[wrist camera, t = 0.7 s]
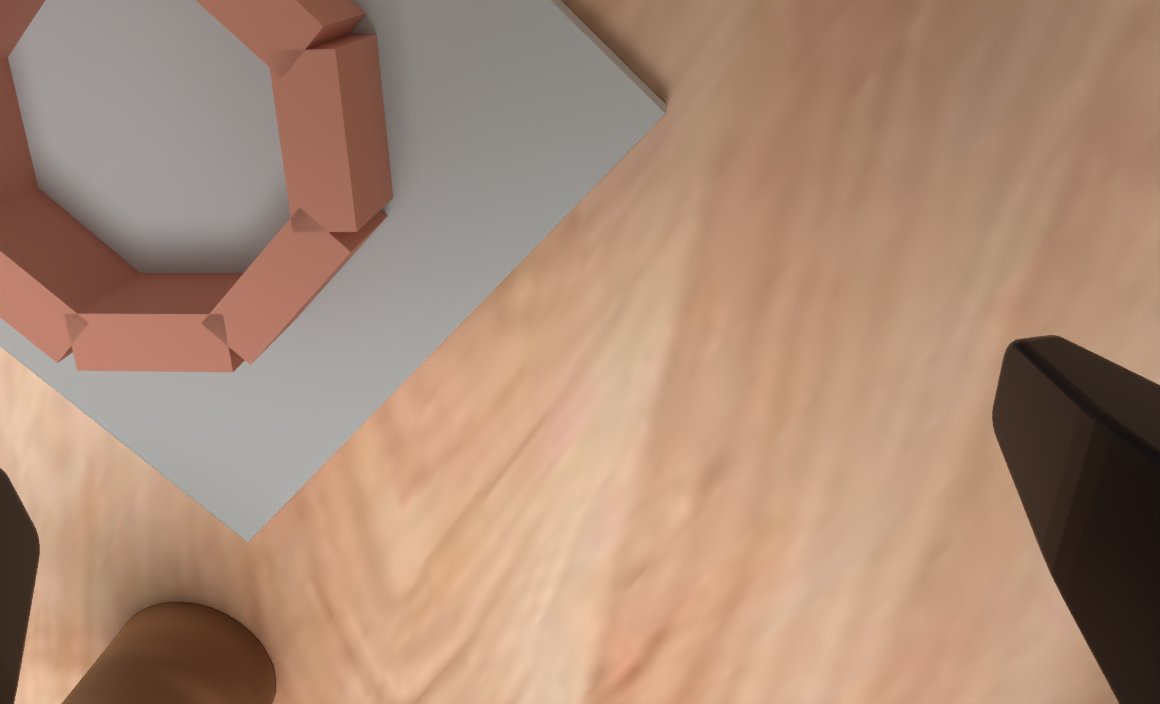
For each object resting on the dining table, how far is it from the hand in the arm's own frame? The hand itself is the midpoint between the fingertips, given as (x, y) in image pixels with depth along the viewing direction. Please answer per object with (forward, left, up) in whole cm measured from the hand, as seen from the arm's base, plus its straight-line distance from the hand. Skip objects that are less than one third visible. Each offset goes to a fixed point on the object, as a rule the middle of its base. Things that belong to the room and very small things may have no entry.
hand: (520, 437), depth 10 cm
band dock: (+7, +6, -13) cm, 16 cm away
